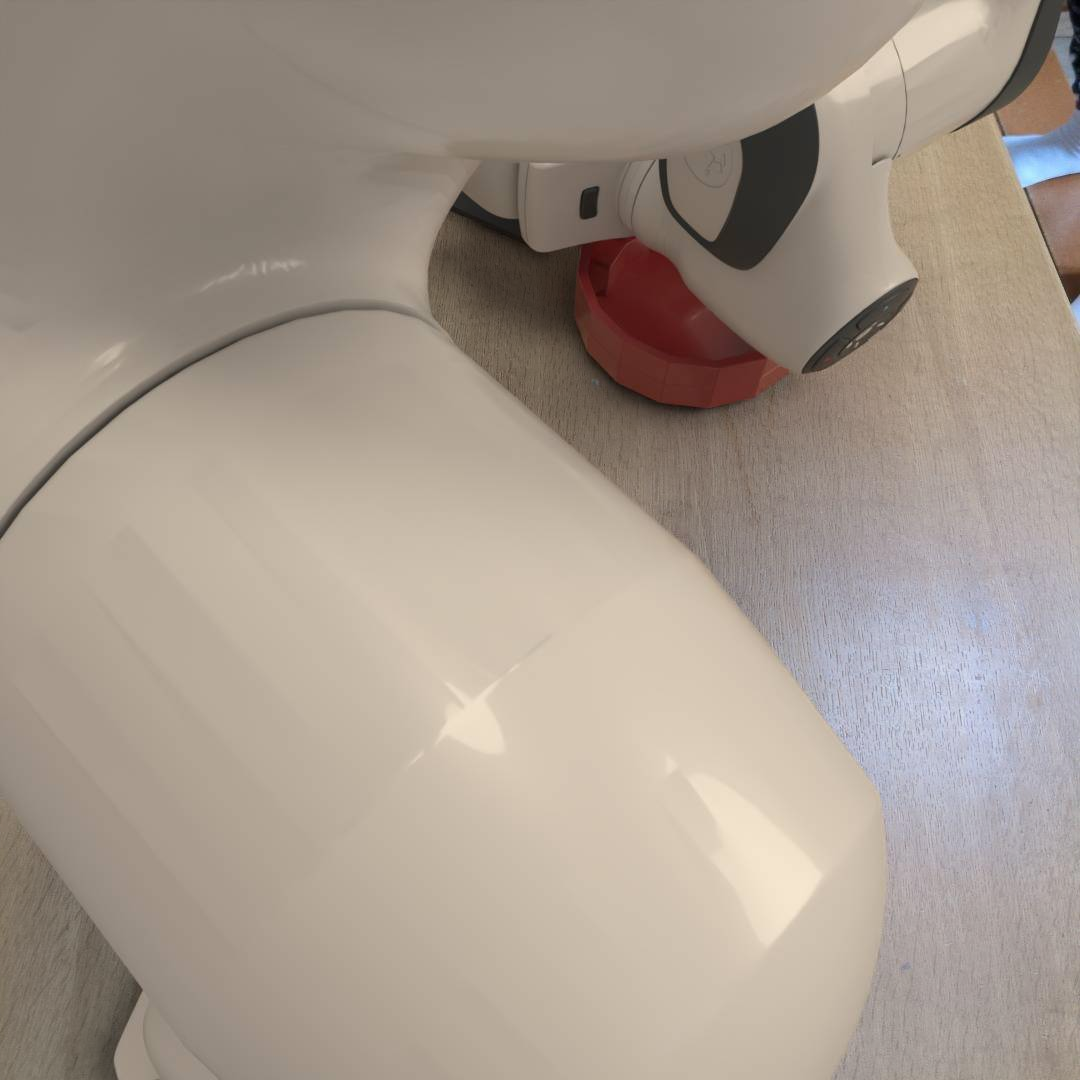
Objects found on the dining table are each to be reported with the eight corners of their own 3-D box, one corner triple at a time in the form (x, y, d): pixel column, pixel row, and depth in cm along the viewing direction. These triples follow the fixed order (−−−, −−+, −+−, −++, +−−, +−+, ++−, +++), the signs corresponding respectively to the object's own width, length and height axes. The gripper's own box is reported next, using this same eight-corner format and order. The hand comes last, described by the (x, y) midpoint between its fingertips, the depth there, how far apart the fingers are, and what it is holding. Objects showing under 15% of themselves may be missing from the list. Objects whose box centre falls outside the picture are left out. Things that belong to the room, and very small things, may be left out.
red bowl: (746, 450, 60) (762, 406, 56) (533, 350, 63) (534, 301, 59) (839, 284, 65) (860, 234, 61) (640, 200, 68) (647, 146, 64)
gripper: (814, 20, 56) (655, -107, 61) (511, 179, 51) (362, 25, 56) (788, 114, 62) (644, -9, 67) (512, 267, 56) (376, 120, 61)
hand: (513, 7), depth 61 cm, fingers open, 8 cm apart
